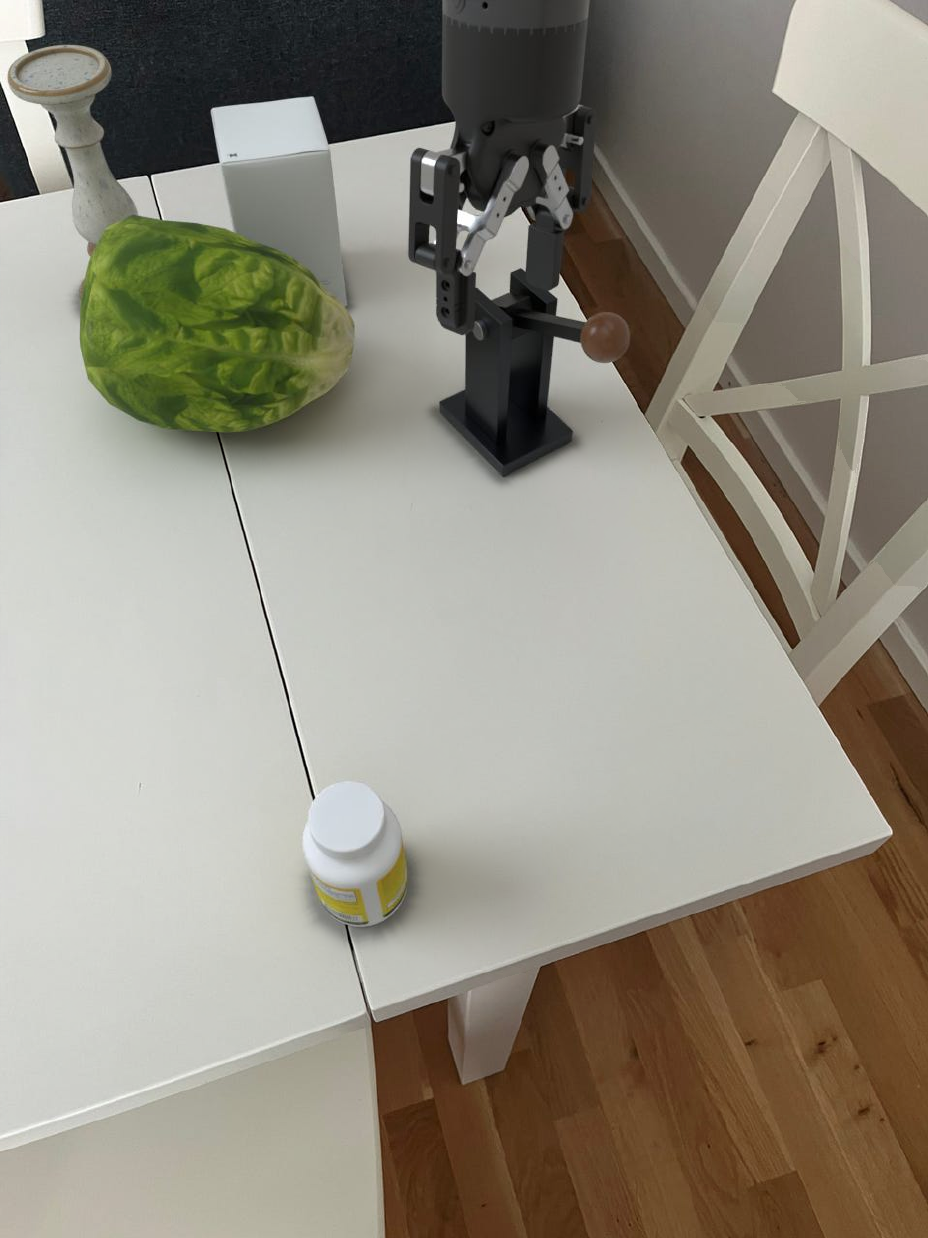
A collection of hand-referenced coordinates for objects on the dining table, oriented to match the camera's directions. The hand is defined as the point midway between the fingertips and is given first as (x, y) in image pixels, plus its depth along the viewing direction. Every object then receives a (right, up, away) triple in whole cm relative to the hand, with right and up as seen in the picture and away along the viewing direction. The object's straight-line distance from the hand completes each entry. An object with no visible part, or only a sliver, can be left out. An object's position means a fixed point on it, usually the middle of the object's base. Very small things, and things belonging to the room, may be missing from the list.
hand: (500, 306), depth 61 cm
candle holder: (-33, +10, +30) cm, 46 cm away
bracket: (+1, -4, +20) cm, 20 cm away
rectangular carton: (-18, +12, +31) cm, 37 cm away
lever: (+4, -1, +7) cm, 9 cm away
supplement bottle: (-8, -35, -2) cm, 36 cm away
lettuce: (-22, -1, +22) cm, 31 cm away
